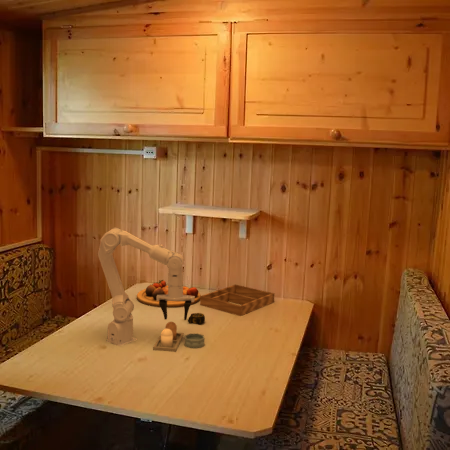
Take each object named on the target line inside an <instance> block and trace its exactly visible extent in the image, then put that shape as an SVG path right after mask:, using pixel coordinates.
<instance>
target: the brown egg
mask: <svg viewBox="0 0 450 450" xmlns="http://www.w3.org/2000/svg"><path fill="white" fill-rule="evenodd" d="M177 327H178V325H177V324H176V322H174V321H168V322H167V323H166V324H165V328H164V329H166V328H168V329H170V330H171V331H172V333H173V340H176V338H177V333H178V331H177V329H178V328H177Z"/></svg>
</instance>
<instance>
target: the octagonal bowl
mask: <svg viewBox="0 0 450 450" xmlns="http://www.w3.org/2000/svg"><path fill="white" fill-rule="evenodd" d="M204 346H205V336H204V334H201V333H188V334H186V335H185V334H184V347H186V348H188V349H201V348H202V347H204Z"/></svg>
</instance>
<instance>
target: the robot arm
mask: <svg viewBox="0 0 450 450" xmlns="http://www.w3.org/2000/svg"><path fill="white" fill-rule="evenodd" d="M99 241H100V243H99V246H98V247H99V248H98V251H97V257H98V260H99V262H100V263H99V264H100V266H101V268H102V271H103V274H104V277H105V280H106V283H107V286H108V288H109V292H110V295H111V298H112V299H111V300H112V305H111V306H112V308H113V309H112V316H113V320H112V321H111V322H109V323H108V325H107V340H106V342H107V343H110V344H113V345H115V346H118V347H122V346H125V345H126V344H129V343H132V342H135V341H137V340H138V338H137V337H134V317H133V315H132V313H133V311H134V309H135V304H134V302H133V301H132V300H131V299H130V297H129V294H127V293H126V291H125V289H124V285H123V282H122V280H121V277H120V273H119V270H118V268H117V267H118V266H117V263H116V261H115V259H114V255H113V254H114V253H115V250H116V249H117V247H118V246H120V247H123V246H131V247H133V248H135V249H138V250H140V251H142V252H145V253H147V254H148V255H149V258H150V259H151V260H154V261H156V262H157V263H161V265H162V264H163V266H167V269H168V272H167V285H168V294H166V295H157V301H159V305H160V307H159V308H160V309H161V311H162V314H163V318H164V320H165V321H166V320H167V319H168V307H167V301H185V303H184V306H183V307H184V309H183V311H184V315H183V316H184V317H183V318H184V319H183V320H184V321H187V320H188V313H189V310H190V308H191V305H192V304H191V303H192V302H194V301H195V296H189V295H183V286H184V273H183V271H184V267H183V264H184V261H185V259H184V256H183V255H182V254H181V253H180V252H177V251H174V250H170V249H167V248H166V247H164V245H163V244H162V243H161V244H153V245H152V244H150V243H149V242H147V241H145V240H143V239H141V238H139V237H137V236H135V235H134V234H132V233H130V232H128V231H126V230H123V229H121V228H118V227H113V228H111V229H110V230H109V231H107V232H105V233H103V235H102V237H101V238H100V239H99Z"/></svg>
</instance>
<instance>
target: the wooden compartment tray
mask: <svg viewBox="0 0 450 450" xmlns="http://www.w3.org/2000/svg"><path fill="white" fill-rule="evenodd" d="M274 302H275V293H274V292H269V291H265V290H261V289H257V288H253V287H249V286H244V285H241V284H240V285H239V284H233V285H229V286H227V287H223V288H220V289H218V290H215V291H211V292H209V293H205V294H202V295H201V296H200V300H199V306H202V307H206V308H210V309H212V310H217V311H221V312H225V313H229V314H232V315H235V316H238V317H242V316H245V315H246V314H249V313H252V312H254V311H256V310H258V309H261V308H263V307H265V306H268V305H271V304H274Z"/></svg>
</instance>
